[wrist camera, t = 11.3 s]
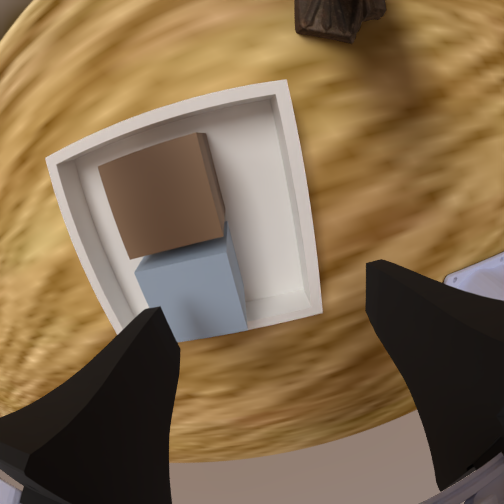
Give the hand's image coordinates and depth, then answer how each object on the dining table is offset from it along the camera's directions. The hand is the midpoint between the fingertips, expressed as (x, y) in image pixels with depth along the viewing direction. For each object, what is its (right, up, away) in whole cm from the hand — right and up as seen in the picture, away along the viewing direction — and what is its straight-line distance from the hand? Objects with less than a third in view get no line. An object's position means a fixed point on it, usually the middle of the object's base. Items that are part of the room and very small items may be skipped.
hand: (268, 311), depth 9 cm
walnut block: (-4, +5, +4) cm, 8 cm away
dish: (-4, +4, +6) cm, 8 cm away
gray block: (-3, +1, +6) cm, 7 cm away
